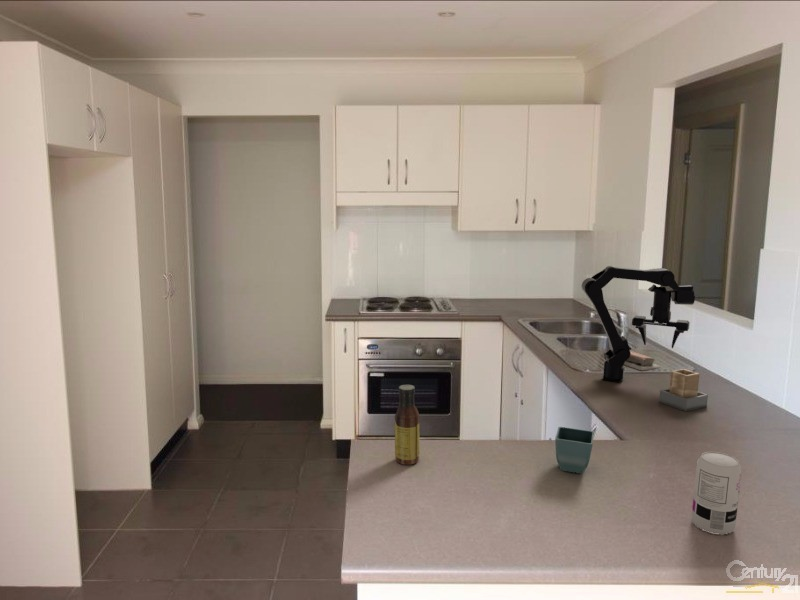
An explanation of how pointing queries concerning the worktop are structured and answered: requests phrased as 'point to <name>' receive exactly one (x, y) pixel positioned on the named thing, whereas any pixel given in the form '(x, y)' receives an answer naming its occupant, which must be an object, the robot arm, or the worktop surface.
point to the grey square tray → (683, 400)
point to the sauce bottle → (407, 427)
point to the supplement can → (716, 492)
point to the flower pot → (573, 449)
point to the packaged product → (640, 362)
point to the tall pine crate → (684, 383)
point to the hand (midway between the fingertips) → (658, 346)
